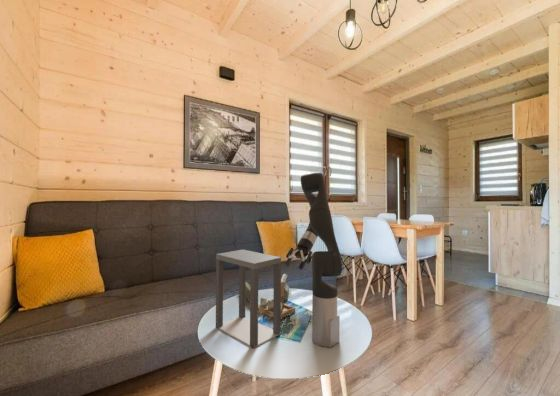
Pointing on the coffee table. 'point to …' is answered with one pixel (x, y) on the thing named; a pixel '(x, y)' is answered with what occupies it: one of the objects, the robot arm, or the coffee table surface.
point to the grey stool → (243, 326)
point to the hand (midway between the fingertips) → (293, 267)
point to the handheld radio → (247, 291)
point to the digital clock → (285, 287)
